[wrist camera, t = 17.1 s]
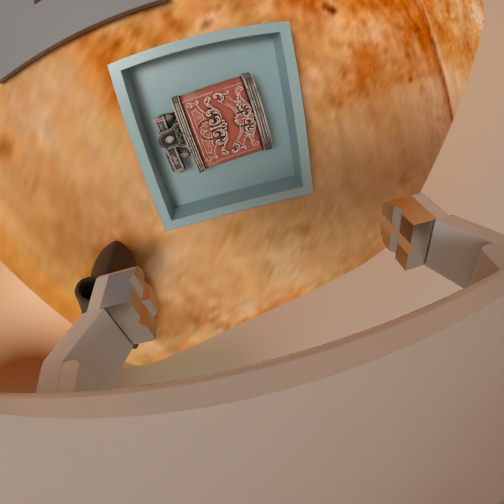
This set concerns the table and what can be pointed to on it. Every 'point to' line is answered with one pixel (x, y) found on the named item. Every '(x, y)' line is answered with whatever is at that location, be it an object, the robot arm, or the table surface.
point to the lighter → (214, 124)
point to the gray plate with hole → (52, 26)
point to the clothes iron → (104, 271)
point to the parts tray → (202, 75)
